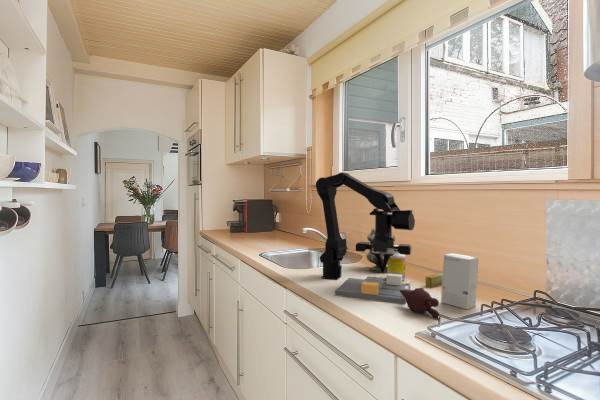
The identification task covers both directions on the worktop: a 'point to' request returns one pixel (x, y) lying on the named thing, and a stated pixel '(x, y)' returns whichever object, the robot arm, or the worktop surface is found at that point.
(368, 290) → the slider orange
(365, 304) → the worktop surface
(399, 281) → the slider white
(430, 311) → the beetroot
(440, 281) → the medication box
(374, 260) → the apothecary jar
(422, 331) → the worktop surface
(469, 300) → the skincare box
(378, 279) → the slider blue
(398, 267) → the supplement bottle
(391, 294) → the panel
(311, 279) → the worktop surface
